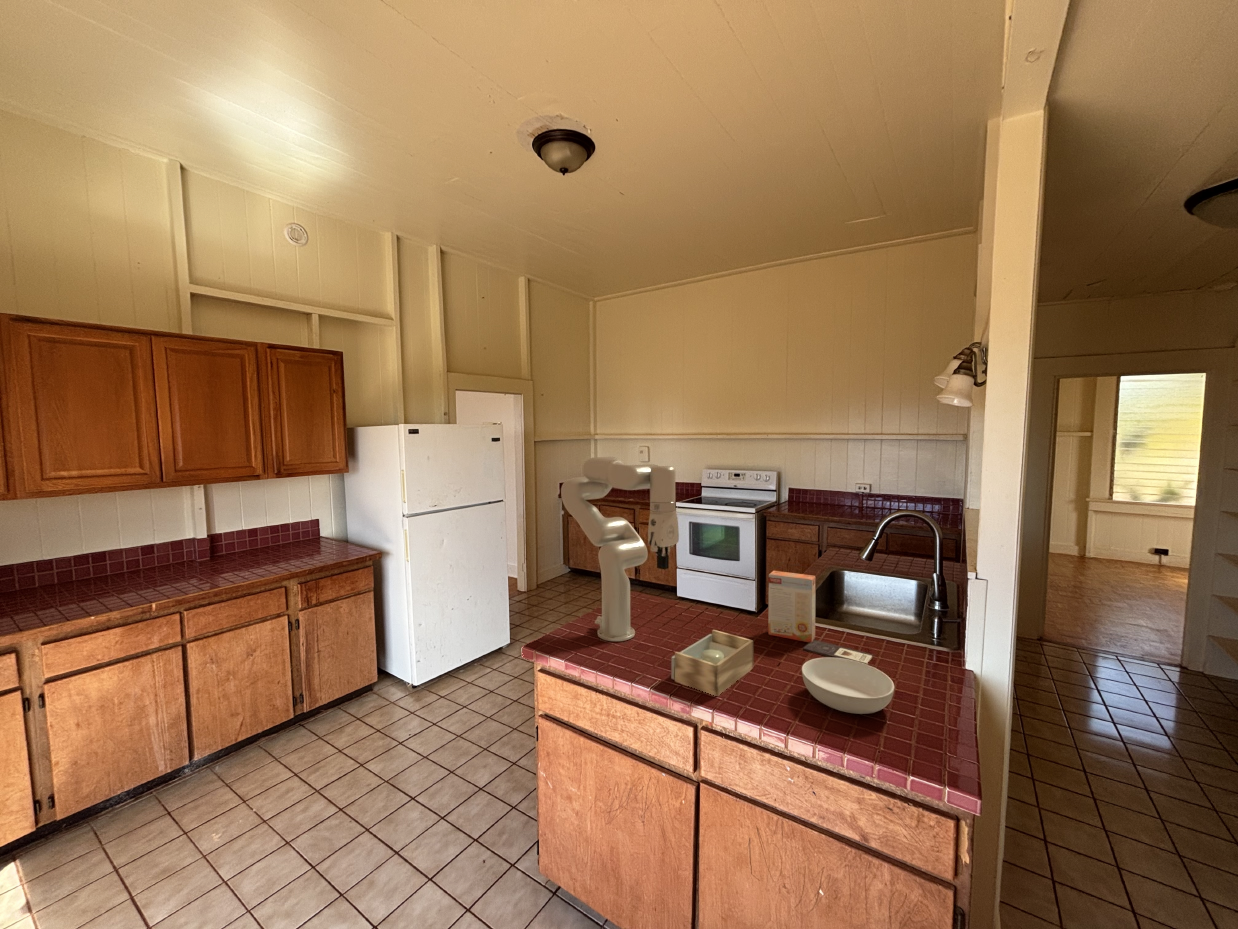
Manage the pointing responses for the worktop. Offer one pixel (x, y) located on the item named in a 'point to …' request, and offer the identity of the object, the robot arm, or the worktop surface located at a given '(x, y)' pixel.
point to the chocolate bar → (837, 651)
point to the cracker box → (792, 606)
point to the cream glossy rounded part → (712, 656)
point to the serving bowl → (847, 685)
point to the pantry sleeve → (716, 666)
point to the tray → (701, 646)
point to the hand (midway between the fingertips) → (662, 568)
